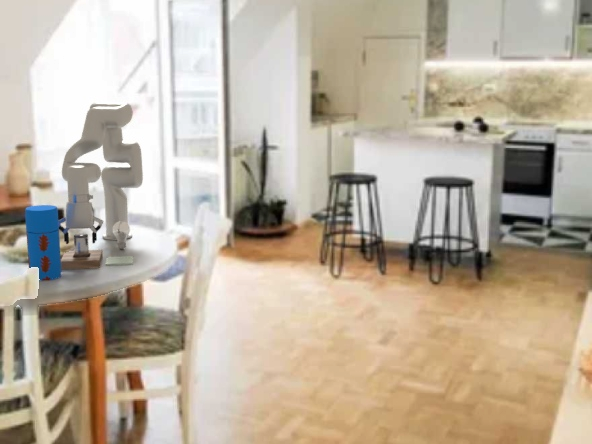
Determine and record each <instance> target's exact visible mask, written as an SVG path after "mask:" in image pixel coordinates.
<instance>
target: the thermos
mask: <svg viewBox="0 0 592 444" xmlns="http://www.w3.org/2000/svg"><path fill="white" fill-rule="evenodd" d="M24 210H25V212H24V217H25V228H26V230H25V231H26V246H27V259H28V269H29V268H31V267H38V268H39V279H40V280H41V281H42V282H43V281H44V282H45V281H52V280H56V279H58V278H61V276H62V269H61V259H62V257H61V244H60V230H59V223H58V221H59V209H58V206H56V205H50V204H45V205H44V204H42V205H41V204H40V205H39V204H38V205H31V206H28V207H26V208H25V209H24ZM41 281H40V282H41Z"/></svg>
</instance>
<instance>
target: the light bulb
mask: <svg viewBox="0 0 592 444" xmlns="http://www.w3.org/2000/svg"><path fill="white" fill-rule="evenodd" d="M129 233H131V227H130V225H129V223H128V224H127V223H126V222H124V221H118V222H116V223H115V224H114V226H113V234H114V235H115V237H116V239H117V240H116V241H117V247H118V249H119V250H122V251H123V250H125V248H126V247H127V241H128V240H127V236H128V235H129Z"/></svg>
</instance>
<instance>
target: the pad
mask: <svg viewBox="0 0 592 444" xmlns="http://www.w3.org/2000/svg"><path fill="white" fill-rule="evenodd" d="M133 264H134V256H132V255H131V256H128V255H127V256H108V257H106V261H105V266H123V265H124V266H127V265H133Z"/></svg>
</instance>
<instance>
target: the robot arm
mask: <svg viewBox="0 0 592 444" xmlns="http://www.w3.org/2000/svg"><path fill="white" fill-rule="evenodd" d="M85 115H86V117H85V121H84V124H83V128H82V133H81V136H80V139H79V140H77V141H76V142H75V143H73V144H72V145H71V146H70V148H69V149H68V150H67V151H66V152H65V155H64V158H63V163H62V167H61V176H62V178H63V180H64V181H66V182H67V200H68V201H67V202H66V205H65V216H64V217H63V218H61V219H58V223H59V231H61V233H62V234H63V240H64V242H65V244H66V245H69V244H70V237H69V231H70V229H71V230H74V229H75V230H78V229H90V230H91V232H92V233H91V237H92V241H91V242H92V244H95V243H96V241H97V240H98V239H97V232H98V231H99V230H100V229H101V228H102V226H103V224H104V220H102V219H101V218H99V217H96V216H95V215H94V208H93V202H92V200H91V199H94V195H93V194H90V190H89V189H90V188H89V186H90V185H89V184H90V183H96V182H98V181H99V180H100V178H101V182H102V187H103V195H104V196H103V197H104V213H105V215H104V216H105V233H103V234H102V238H103V239H104V240H110V241H117V239H116V237H115V235H114V234H113V226H114V224H115V223H116V222H118V221H124V222H126V223H127V224H128V225H129V218H128V217H129V216H128V215H129V214H128V213H129V212H128V197H127V194H126V193H125V191H124V190H123V188H124V189H126V188H127V189H138V188H139V187H141V186H142V185H143V179H144V177H143V176H144V175H143V174H144V172H143V158H142V149H141V146H140V144H139V143H138V142H137V141H133V140H124V139H123V138H124V137H123V129H122V128H124V127H125V126H127V125H128V124H129V123H130V122H131V121H132V118H133V108H132V106H131V105H130V104H129V103H128V102H116V101H115V102H112V101H111V102H109V101H101V102H100V101H99V102H93V103H91V105H90V106H89V109H88V110H87V113H86V114H85ZM101 147H102V155H103V159H104V161H105V162H107V163H111V164H128V165H107V166H105V167H103V168H102V170H101V168H100V165H98V164H97V163H94V162H76V161H78V159H79V158H81V157H82V156H84V155H86V154H89V153H91V152H94V151H95V150H99V149H100V148H101ZM64 222H65V227H64V226H62V224H63V223H64ZM95 222H96V223H98V225H97V226H95ZM132 237H133V233H132V232H130V233H129V235H128V236H127V239H130V238H132Z"/></svg>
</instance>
